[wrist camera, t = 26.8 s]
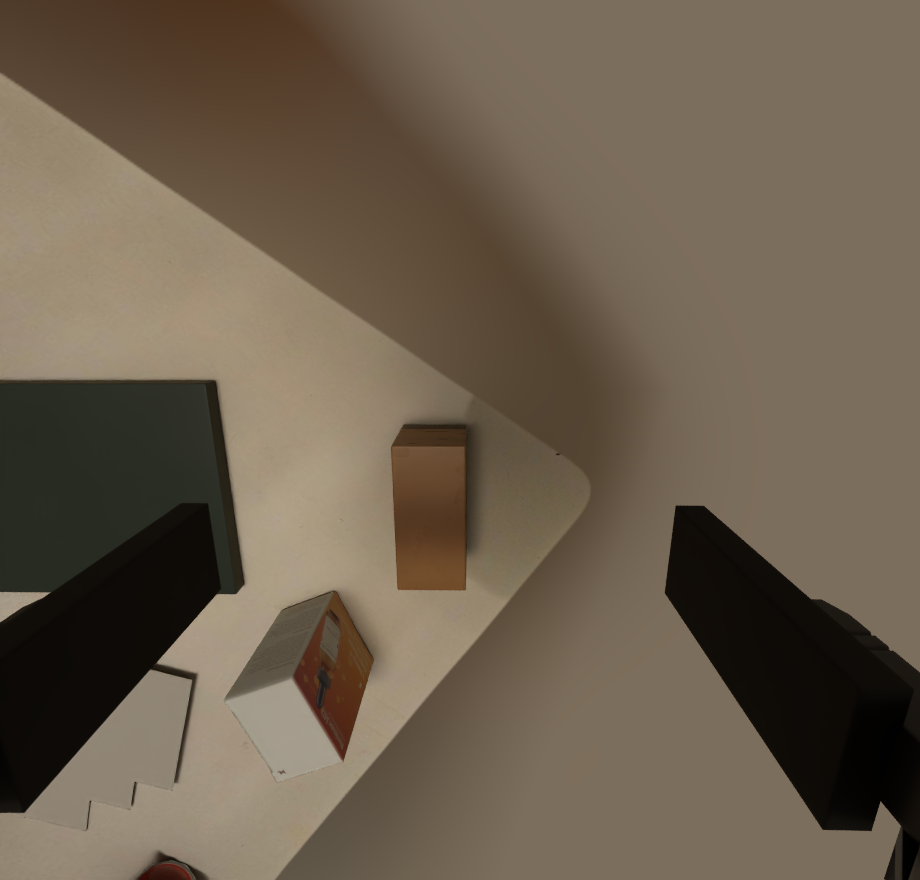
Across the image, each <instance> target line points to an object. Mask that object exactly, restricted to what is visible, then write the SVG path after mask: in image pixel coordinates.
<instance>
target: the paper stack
mask: <svg viewBox="0 0 920 880" xmlns="http://www.w3.org/2000/svg"><path fill="white" fill-rule="evenodd" d="M191 684H192V680H190V679H186V678H182V677H178V676H174V675H170V674H166V673H162V672H159V671H155V670H151V669H150V671H149V672H148V673H147V674H146V675H145V676H144V677H143V678H142V680H141V681H140V682H139V683H138V684H137V685H136V686H135V688H134V689H133V690H132V691H131V692H130V693H129V694H128V696H127V697H126V698H125V699H124V700H123V701H122V702H121V704H120V705H119V706H118V707H117V708H116V709H115V710H114V712H113V713H112V714H111V715H110V716H109V717H108V718H107V719H106V721H105V722H104V723H103V724H102V725H101V726H100V727H99V729H98V730H97V731H96V732H95V733H94V734H93V735H92V737H91V738H90V739H89V740H88V741H87V742H86V743H85V745H84V746H83V747H82V748H81V749H80V750H79V751H78V752H77V754H76V755H75V756H74V757H73V758H72V759H71V760H70V762H69V763H68V764H67V765H66V766H65V767H64V768H63V770H62V771H61V772H60V773H59V774H58V775H57V776H56V778H55V779H54V780H53V781H52V782H51V783H50V784H49V786H48V787H47V788H46V789H45V790H44V791H43V792H42V793H41V795H40V796H39V797H38V798H37V799H36V800H35V801H34V803H33V804H32V805H31V806H30V807H29V808H28V809H27V811H26V812H25V813H10V814H14V815H18V816H22V817H27V818H31V819H35V820H39V821H44V822H48V823H52V824H56V825H61V826H65V827H69V828H73V829H78V830H82V831H86V828H87V820H88V811H89V803H90V801H94V802H98V803H102V804H107V805H111V806H115V807H119V808H123V809H128V810H130V808H131V801H132V795H133V788H134V782H138V783H142V784H146V785H150V786H154V787H158V788H163V789H167V790H171V791H172V790H173V785H174V779H175V774H176V768H177V762H178V757H179V751H180V746H181V740H182V735H183V729H184V723H185V718H186V712H187V707H188V701H189V696H190V690H191Z"/></svg>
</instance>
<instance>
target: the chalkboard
mask: <svg viewBox="0 0 920 880" xmlns="http://www.w3.org/2000/svg"><path fill="white" fill-rule="evenodd" d="M181 503H208V506H209V513H210V519H211V525H212V532H213V538H214V545H215V551H216V557H217V564H218V570H219V577H220V583H221V590H220V591H219V592H218V593H217V594H237V593H238V591H239V590H240V589H241V588H242V586H243V585H244V582H243V575H242V568H241V561H240V554H239V547H238V540H237V533H236V525H235V518H234V511H233V504H232V497H231V490H230V483H229V476H228V469H227V462H226V455H225V448H224V441H223V433H222V426H221V419H220V412H219V405H218V398H217V391H216V384H215V381H0V592H52V591H54V590H55V589H57V588H58V587H60V586H61V585H63V584H64V583H66V582H67V581H68V580H70V579H71V578H73V577H74V576H76V575H77V574H79V573H80V572H82V571H83V570H84V569H86V568H87V567H89V566H90V565H92V564H93V563H95V562H96V561H98V560H99V559H101V558H102V557H103V556H105V555H106V554H108V553H109V552H111V551H112V550H114V549H115V548H117V547H118V546H119V545H121V544H122V543H124V542H125V541H127V540H128V539H130V538H131V537H133V536H134V535H135V534H137V533H138V532H140V531H141V530H143V529H144V528H146V527H147V526H149V525H150V524H152V523H153V522H154V521H156V520H157V519H159V518H160V517H162V516H163V515H165V514H166V513H168V512H169V511H170V510H172V509H173V508H175V507H176V506H178V505H179V504H181Z"/></svg>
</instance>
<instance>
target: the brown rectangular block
mask: <svg viewBox="0 0 920 880" xmlns="http://www.w3.org/2000/svg"><path fill="white" fill-rule="evenodd" d="M391 455H392V477H393V499H394V521H395V543H396V565H397V587H398V590H466V556H467V453H466V425H403V427H402V428H401V430H400V432H399V434H398V435H397V437H396V439H395V441H394V442H393V444H392V446H391Z"/></svg>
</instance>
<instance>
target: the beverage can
mask: <svg viewBox="0 0 920 880" xmlns="http://www.w3.org/2000/svg"><path fill="white" fill-rule="evenodd" d="M137 880H195V877H194V875H193V874H192V872H191V871H190V869H189V868H188V866H187V865H185V864H182V863H179V862H176V861H173V860H170V861H164V862H159V863H156V864H153V865H150V866H148V867H147V868H146V869H145V870H144V872H143V873H142V874H141V875H140V876H139V877H138V879H137Z"/></svg>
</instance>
